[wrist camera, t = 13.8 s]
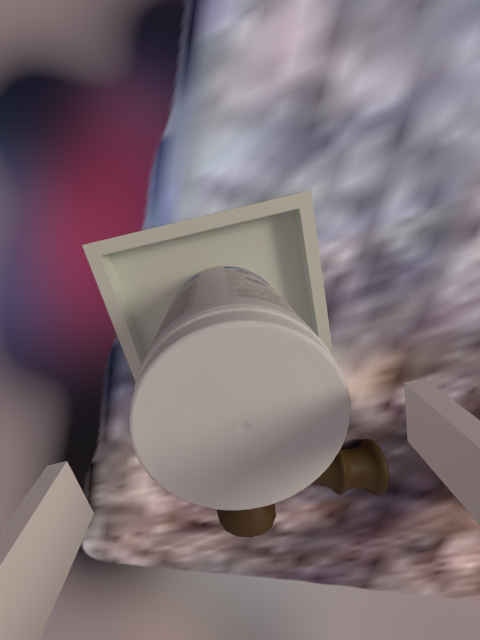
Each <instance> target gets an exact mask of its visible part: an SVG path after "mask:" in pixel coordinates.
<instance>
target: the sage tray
mask: <svg viewBox="0 0 480 640" xmlns="http://www.w3.org/2000/svg"><path fill="white" fill-rule="evenodd" d="M82 246H83V249H84V252H85V254H86V257H87V259H88V262H89V264H90V267H91V269H92V272H93V275H94V277H95V280H96V282H97V285H98V287H99V290H100V292H101V295H102V298H103V300H104V303H105V305H106V308H107V310H108V313H109V316H110V318H111V321H112V323H113V326H114V329H115V331H116V334H117V336H118V339H119V341H120V344H121V346H122V349H123V352H124V354H125V357H126V359H127V362H128V364H129V367H130V370H131V372H132V375H133V377H134V380H135V382H136V380H137V377H138V374H139V371H140V369H141V367H142V364H143V362H144V360H145V358H146V355H147V353H148V351H149V349H150V347H151V345H152V343H153V341H154V339H155V337H156V335H157V333H158V330H159V328H160V326H161V324H162V322H163V320H164V318H165V316H166V314H167V312H168V310H169V307H170V305H171V303H172V301H173V299H174V297H175V296H176V294H177V292H178V291H179V289H180V288H181V287H182V286H183V285H184V284H185V283H186V282H187V281H188V280H189V279H190V278H192V277H193V276H194V275H196V274H198V273H199V272H201V271H204V270H206V269H209V268H212V267H216V266H237V267H241V268H245V269H248V270H250V271H252V272H254V273H256V274H258V275H259V276H261V277H262V278H263V279H264V280H265V281H266V282H267V283H268V284H269V285H270V286H271V287H272V288H273V289H274V290H275V291H276V292H277V293H278V294H279V295H280V296H281V297H282V298H283V300H284V301H285V302H286V303H287V304H288V305H289V306H290V307H291V308H292V309H293V310H294V311H295V312H296V313H297V314H298V315H299V316H300V317H301V318H302V319H303V321H304V322H305V323H306V324H307V325H308V326H309V327H310V328H311V329H312V331H313V332H314V333H315V334H316V335H317V336H318V337H319V338H320V339H321V340H322V342H323V343H324V344H325V345H326V347H327V348H328V350H329V351H330V353H331V355H332V357H333V351H332V343H331V336H330V329H329V321H328V314H327V306H326V299H325V291H324V284H323V277H322V269H321V262H320V254H319V247H318V239H317V232H316V225H315V217H314V210H313V202H312V195H311V191H307V192H303V193H299V194H294V195H290V196H286V197H282V198H278V199H274V200H269V201H265V202H261V203H257V204H253V205H248V206H244V207H240V208H236V209H232V210H227V211H223V212H219V213H215V214H211V215H206V216H202V217H198V218H194V219H190V220H185V221H181V222H177V223H173V224H169V225H165V226H160V227H156V228H152V229H148V230H144V231H139V232H135V233H131V234H127V235H123V236H118V237H114V238H110V239H106V240H102V241H98V242H93V243H89V244H85V245H82ZM333 359H334V358H333Z"/></svg>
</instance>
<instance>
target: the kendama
mask: <svg viewBox="0 0 480 640" xmlns="http://www.w3.org/2000/svg"><path fill="white" fill-rule="evenodd" d="M311 484H317V485H322V486H327V487H330V488H331V489H332V490H333V491H334V492H335V493H337V494H338V495H342V494H343V493H344V492H345V491H346V490H347V489H351V488H361V489H366V490H368V491H369V492H371V493H373V494H374V495H377V496H381V495H382V494H384V493H385V491H386V489H387V487H388V484H389V470H388V464H387V461H386V459H385V456H384V454H383V452H382V451H381V449H380V447H379V446H378V445H377V444H376V443H374V442H373V441H372V440H369V439H364V440H363V441H362V442H361V443H360V444H359V445H358V446H357V447H355V448H350V449H340V451H339V452H338V454H337V455H336V457H335V459H334V460H333V462H332V463H331V464H330V466H329V467H328V468H327V469H326V470H325V471H324V472H323V473H322V474H321V475H320V476H319V477H318V478H317V479H316V480H315V481H314V482H312V483H311ZM217 513H218V517H219V521H220V523H221V525H222V526H223V527H224V529H225V530H226V531H227V532H229V533H231V534H233V535H236V536H239V537H254V536H258V535H261V534H264V533H265V532H266V531H267V530H269V529H270V528H271V527H272V525H273V522H274V520H275V517H276V512H275V504H271V505H268V506H264V507H259V508H254V509H247V510H218V509H217Z"/></svg>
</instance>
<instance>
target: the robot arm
mask: <svg viewBox="0 0 480 640" xmlns="http://www.w3.org/2000/svg"><path fill="white" fill-rule="evenodd" d="M404 387H405V404H406V421H407V438H408V442H409V443H410V444H411V445H412V447H413V448H414V449H415V450H416V451H417V452H418V454H419V455H420V456H421V457H422V458H423V459H424V461H425V462H426V463H427V464H428V465H429V466H430V468H431V469H432V470H433V471H434V472H435V473H436V475H437V476H438V477H439V478H440V479H441V480H442V482H443V483H444V484H445V485H446V486H447V487H448V489H449V490H450V491H451V492H452V493H453V494H454V495H455V497H456V498H457V499H458V500H459V501H460V502H461V504H462V505H463V506H464V507H465V508H466V509H467V511H468V512H469V513H470V514H471V515H472V516H473V518H474V519H475V520H476V521H477V522H478V523H479V525H480V420H479V419H477V418H476V417H475V416H473V415H472V414H471V413H469V412H468V411H467V410H466V409H464V408H463V407H462V406H460V405H459V404H458V403H456V402H455V401H454V400H452V399H451V398H450V397H448V396H447V395H446V394H445V393H443V392H442V391H441V390H439V389H438V388H437V387H435V386H434V385H433V384H431V383H430V382H429V381H427V380H426V379H425V378H422V379H418V380H413V381H409V382H405V383H404ZM93 514H94V513H93V511H92V509H91V507H90V505H89V503H88V501H87V499H86V497H85V495H84V494H83V492H82V490H81V488H80V486H79V484H78V482H77V480H76V478H75V476H74V474H73V472H72V470H71V468H70V466H69V464H68V462H67V461H66V462H61V463H57V464H53V465H49V466H47V467H46V468H45V470H44V471H43V473H42V474H41V476H40V477H39V479H38V480H37V481H36V483H35V484H34V485H33V487H32V488H31V490H30V491H29V492H28V494H27V495H26V497H25V498H24V500H23V501H22V502H21V504H20V505H19V507H18V508H17V509H16V511H15V512H14V514H13V515H12V517H11V518H10V520H9V521H8V522H7V524H6V525H5V526H4V528H3V529H2V531H1V532H0V640H40V637H41V635H42V633H43V630H44V628H45V626H46V623H47V621H48V619H49V616H50V614H51V612H52V609H53V607H54V605H55V602H56V600H57V598H58V595H59V593H60V591H61V588H62V586H63V584H64V582H65V579H66V577H67V575H68V572H69V570H70V568H71V565H72V563H73V561H74V558H75V556H76V554H77V551H78V549H79V547H80V545H81V542H82V540H83V538H84V535H85V533H86V531H87V528H88V526H89V524H90V521H91V519H92V517H93Z"/></svg>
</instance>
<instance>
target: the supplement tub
mask: <svg viewBox="0 0 480 640" xmlns="http://www.w3.org/2000/svg"><path fill="white" fill-rule="evenodd" d="M349 421H350V397H349V392H348V388H347V384H346V381H345V379H344V377H343V374H342V372H341V370H340V369H339V367H338V365H337V364H336V362H335V361H334V359H333V357H332V355H331V353H330V351H329V350H328V348H327V347H326V345H325V344H324V343H323V342H322V340H321V339H320V338H319V337H318V336H317V335H316V334H315V333H314V332H313V331H312V329H311V328H310V327H309V326H308V325H307V324H306V323H305V322H304V321H303V319H302V318H301V317H300V316H299V315H298V314H297V313H296V312H295V311H294V310H293V309H292V308H291V307H290V306H289V305H288V304H287V303H286V302H285V301H284V300H283V298H282V297H281V296H280V295H279V294H278V293H277V292H276V291H275V290H274V289H273V288H272V287H271V286H270V285H269V284H268V283H267V282H266V281H265V280H264V279H263V278H262V277H261V276H259V275H258V274H256V273H254V272H252V271H250V270H248V269H245V268H241V267H237V266H216V267H212V268H209V269H206V270H204V271H201V272H199V273H198V274H196V275H194V276H193V277H192V278H190V279H189V280H188V281H187V282H186V283H185V284H184V285H183V286H182V287H181V288H180V289H179V291H178V292H177V294H176V296H175V297H174V299H173V301H172V303H171V305H170V307H169V310H168V312H167V314H166V316H165V318H164V320H163V322H162V324H161V326H160V328H159V330H158V333H157V335H156V337H155V339H154V341H153V343H152V345H151V347H150V349H149V351H148V353H147V355H146V358H145V360H144V362H143V364H142V367H141V369H140V371H139V374H138V377H137V380H136V383H135V387H134V393H133V397H132V401H131V405H130V410H129V432H130V438H131V442H132V446H133V448H134V451H135V454H136V456H137V458H138V460H139V462H140V463H141V465H142V466H143V468H144V469H145V471H146V472H147V473H148V474H149V476H150V477H151V478H152V479H153V480H154V481H155V482H156V483H157V484H159V485H160V486H161V487H162V488H164V489H165V490H166V491H168V492H169V493H171V494H173V495H174V496H176V497H178V498H180V499H182V500H184V501H187V502H189V503H192V504H195V505H198V506H202V507H206V508H211V509H218V510H247V509H254V508H259V507H264V506H268V505H271V504H274V503H277V502H279V501H282V500H284V499H287V498H289V497H291V496H293V495H295V494H296V493H298V492H300V491H302V490H303V489H304V488H306V487H307V486H309V485H310V484H311V483H312V482H314V481H315V480H316V479H317V478H318V477H319V476H320V475H321V474H322V473H323V472H324V471H325V470H326V469H327V468H328V467H329V466H330V464H331V463H332V462H333V460H334V459H335V457H336V455H337V454H338V452H339V451H340V449H341V447H342V445H343V442H344V440H345V437H346V434H347V431H348V426H349Z"/></svg>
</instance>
